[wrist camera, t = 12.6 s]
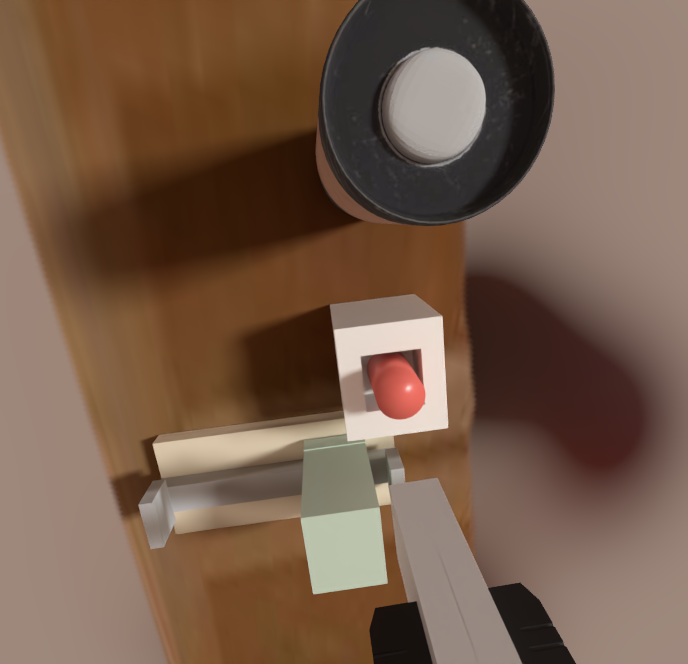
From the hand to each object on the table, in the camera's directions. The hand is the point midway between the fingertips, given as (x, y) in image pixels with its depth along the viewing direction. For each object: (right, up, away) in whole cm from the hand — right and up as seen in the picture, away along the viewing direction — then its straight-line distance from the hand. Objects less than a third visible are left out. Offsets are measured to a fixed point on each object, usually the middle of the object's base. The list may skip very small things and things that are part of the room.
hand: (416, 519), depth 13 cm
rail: (-8, -6, +25) cm, 27 cm away
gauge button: (+1, +3, +18) cm, 18 cm away
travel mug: (-1, +18, +19) cm, 27 cm away
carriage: (-3, -6, +24) cm, 25 cm away
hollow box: (0, +5, +23) cm, 23 cm away
